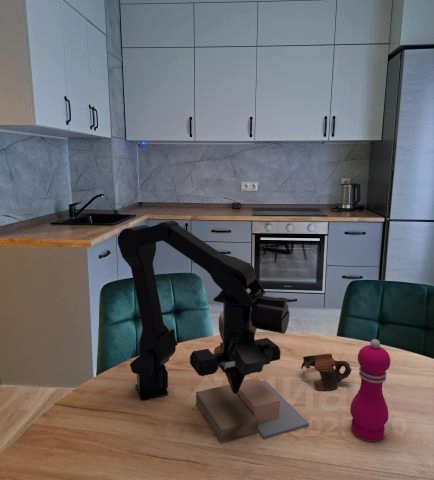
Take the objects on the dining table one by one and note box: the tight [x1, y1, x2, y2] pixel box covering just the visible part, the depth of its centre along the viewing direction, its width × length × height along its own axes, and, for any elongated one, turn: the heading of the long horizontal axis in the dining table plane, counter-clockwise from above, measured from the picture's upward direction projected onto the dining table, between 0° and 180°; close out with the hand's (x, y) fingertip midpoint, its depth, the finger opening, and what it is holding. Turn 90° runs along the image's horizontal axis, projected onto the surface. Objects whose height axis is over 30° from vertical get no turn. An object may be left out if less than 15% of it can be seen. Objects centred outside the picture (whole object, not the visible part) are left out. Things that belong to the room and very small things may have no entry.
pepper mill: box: [349, 338, 391, 442], centre depth 79 cm, size 7×7×20 cm
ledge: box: [195, 384, 259, 444], centre depth 85 cm, size 8×14×3 cm, turn 23°
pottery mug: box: [300, 353, 352, 391], centre depth 100 cm, size 12×10×8 cm
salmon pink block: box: [236, 376, 280, 423], centre depth 87 cm, size 4×10×6 cm
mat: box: [258, 379, 310, 440], centre depth 88 cm, size 11×18×1 cm, turn 23°
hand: (234, 392), depth 85 cm, fingers closed
